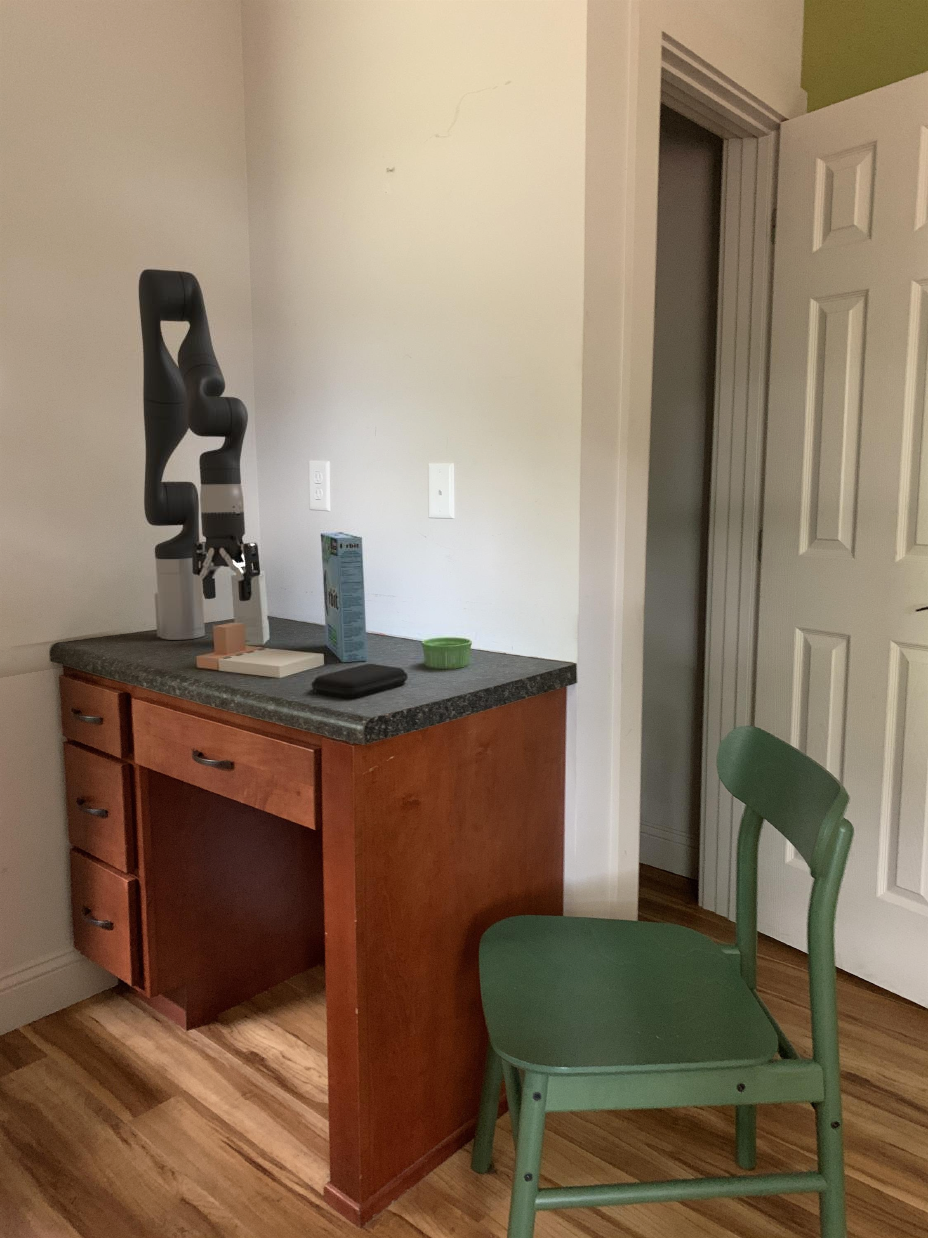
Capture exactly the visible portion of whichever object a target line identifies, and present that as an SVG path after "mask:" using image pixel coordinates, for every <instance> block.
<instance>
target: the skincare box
mask: <svg viewBox="0 0 928 1238" xmlns="http://www.w3.org/2000/svg"><path fill="white" fill-rule="evenodd" d="M230 578H231V579H230V580H231V591H232V607H233V619H234V622H233V623H244V624H245V637H246V646H254V647H262V646H264V645H265V643H267V642H268V641H269V640H270V625H269V613H268V612H269V611H268V599H267V597H268V596H267V588H266V587H267V586H266V571H265V570H260V575H259V576H255V577H253V578H252V579H251V590H252V591H251V592H252V595H251V598H250V600H248V601H240V600H239V587H238V581H240V579H239V578H238V576H237V575H236V573H235V572H234V573H233V574H231V575H230Z"/></svg>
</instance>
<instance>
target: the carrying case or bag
mask: <svg viewBox="0 0 928 1238" xmlns="http://www.w3.org/2000/svg"><path fill="white" fill-rule="evenodd" d="M408 678H409V676H408V673H407V672H406V671H405V670H404V669H403V668H401V667H396V666H389V665H388V666H387V665H383V664H382V665H381V664H376V663H367V664H362V665H357V666H353V667H349V668H346V669H345V668H344V669H341V670H338V671H334V672H329V673H326V674H322V675H319V676H317V677H316V678H315V679H314V680H313V681H312V682H311V684H310V686H311V688H312V690H313V691H314V692H315V694H318V695H321V696H328V697H334V698H338V697H339V699H344V700H353V698H354V699H358V698H362V697H365V696H369V695H372V694H376V693H379V692H383V691H386V690H389V689H393V688H396V687H399V686H402V685H404V684H405V683H406V681H407V680H408Z"/></svg>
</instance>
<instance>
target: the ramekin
mask: <svg viewBox="0 0 928 1238" xmlns="http://www.w3.org/2000/svg"><path fill="white" fill-rule="evenodd" d="M472 644H473V642H472V640H471V639H469V638H466V637H457V636H456V637H455V636H451V637H450V636H449V637H448V636H446V637H443V636H442V637H433V638H426V639H423V640H422V641H421V645H422V650H423V659H424V665H425V666H426V667H427V668H431V669H435V670H436V669H437V670H452V669H453V670H454V669H456V670H457V669H461V668H466V667H468V666H469V665H470V661H471V647H472Z"/></svg>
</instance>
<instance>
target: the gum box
mask: <svg viewBox="0 0 928 1238" xmlns="http://www.w3.org/2000/svg"><path fill="white" fill-rule="evenodd" d="M320 542H321V543H320V545H321V562H322V563H321V564H322V582H323V584H322V585H323V603H324V625H325V626H324V627H325V645H326V647H327V648H329V650H330V651H331V652H332V653H333V654H334V655H335V656H336V657H337V658H338V659H339V660H340V661H341V663H349V662H350V663H352V662H364V661H368V647H367V644H368V643H367V628H366V627H367V626H366V624H367V623H366V600H365V599H366V597H365V577H364V572H365V571H364V554H363V553H364V552H363V551H364V550H363V537H361V536H357V535H354V534H350V533H344V532H342V531H340V532H338V531H337V532H321V533H320Z"/></svg>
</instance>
